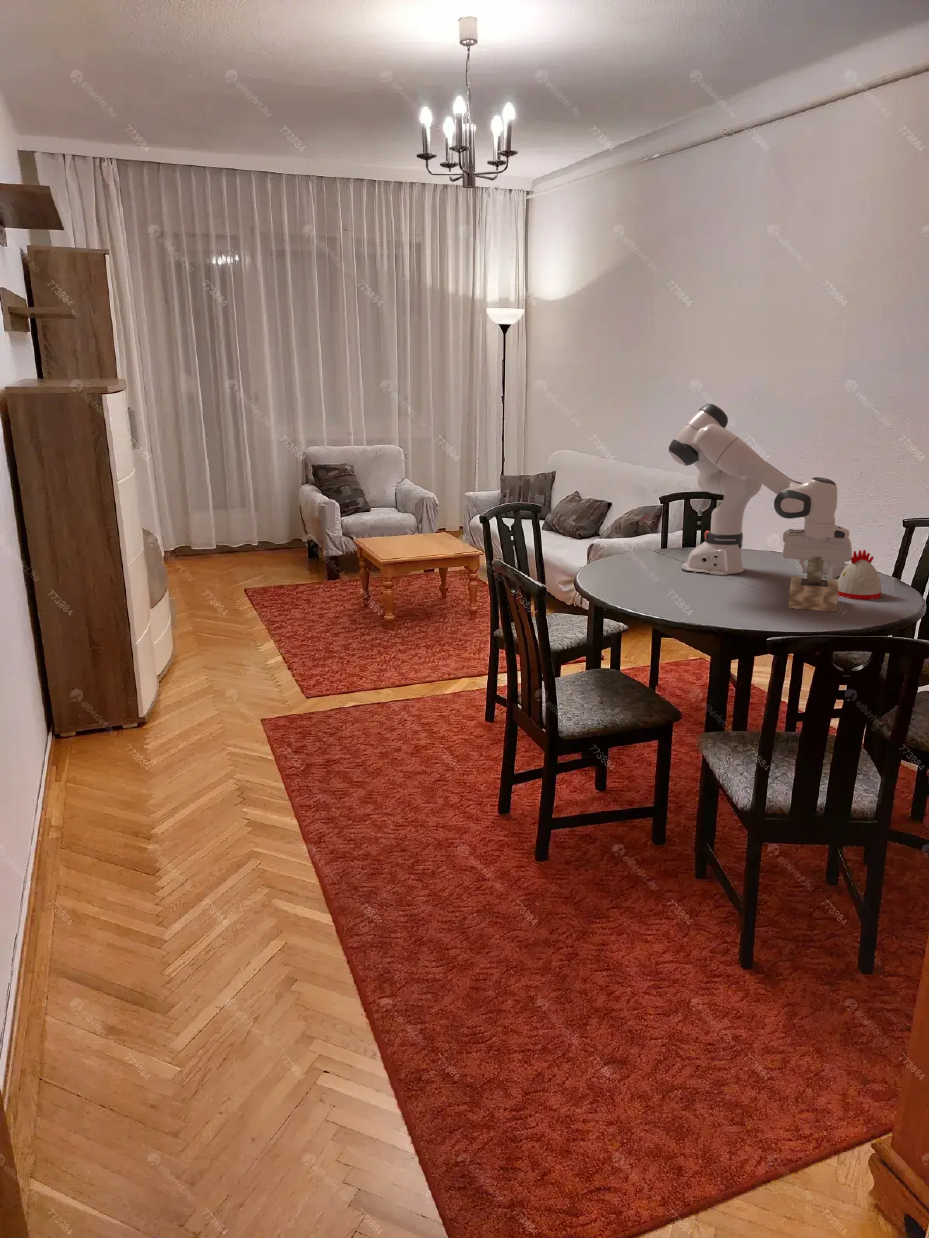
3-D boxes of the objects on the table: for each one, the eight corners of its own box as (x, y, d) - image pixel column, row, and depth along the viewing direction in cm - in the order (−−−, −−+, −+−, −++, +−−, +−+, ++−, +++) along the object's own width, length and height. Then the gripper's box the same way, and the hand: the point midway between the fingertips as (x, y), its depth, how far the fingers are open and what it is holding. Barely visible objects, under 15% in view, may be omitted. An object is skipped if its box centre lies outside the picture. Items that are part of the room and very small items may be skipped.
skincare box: (828, 572, 316) (832, 532, 312) (844, 575, 312) (848, 534, 307) (816, 576, 311) (820, 535, 307) (832, 579, 307) (836, 538, 302)
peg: (806, 587, 274) (808, 556, 271) (806, 584, 278) (808, 553, 275) (821, 588, 272) (824, 557, 269) (821, 585, 276) (824, 554, 273)
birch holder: (788, 608, 273) (790, 585, 271) (789, 597, 286) (791, 575, 283) (836, 611, 268) (838, 588, 266) (835, 600, 281) (837, 578, 279)
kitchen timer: (827, 590, 293) (831, 546, 289) (865, 588, 294) (870, 544, 290) (849, 601, 280) (854, 555, 275) (889, 598, 281) (894, 553, 277)
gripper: (783, 530, 271) (779, 573, 275) (854, 533, 264) (849, 577, 268) (783, 527, 277) (780, 569, 281) (853, 530, 269) (849, 573, 273)
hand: (814, 573), depth 274 cm, fingers closed on peg, 4 cm apart
